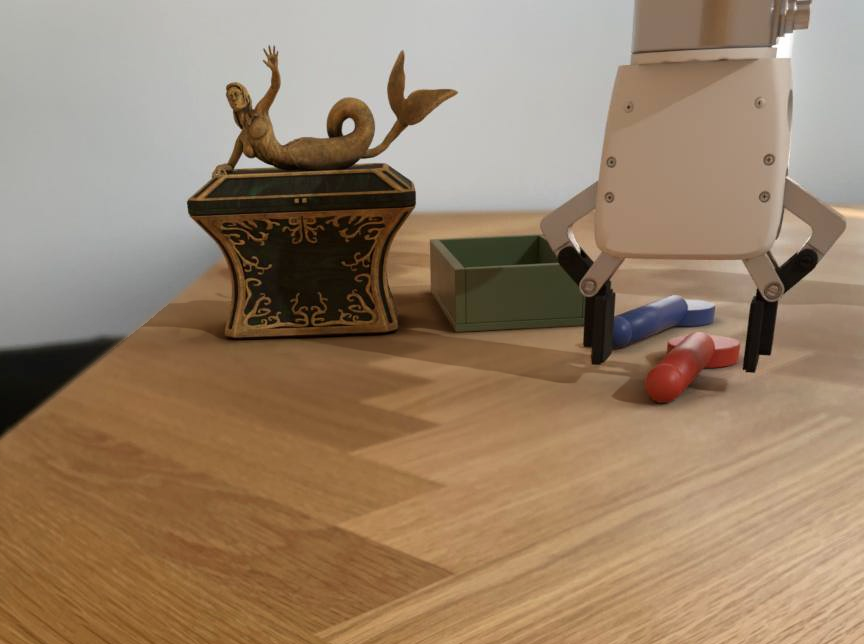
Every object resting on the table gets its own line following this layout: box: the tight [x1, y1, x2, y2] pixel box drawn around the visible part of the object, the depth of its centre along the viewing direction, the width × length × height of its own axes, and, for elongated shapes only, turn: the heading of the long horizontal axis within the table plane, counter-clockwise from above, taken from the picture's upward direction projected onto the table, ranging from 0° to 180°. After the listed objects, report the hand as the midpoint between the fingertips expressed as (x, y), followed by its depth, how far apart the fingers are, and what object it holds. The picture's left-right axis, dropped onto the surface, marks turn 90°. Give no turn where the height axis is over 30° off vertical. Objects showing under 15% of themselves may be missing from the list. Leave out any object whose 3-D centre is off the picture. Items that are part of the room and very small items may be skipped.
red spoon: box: [644, 331, 741, 404], centre depth 65 cm, size 14×5×2 cm, turn 154°
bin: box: [429, 233, 585, 333], centre depth 88 cm, size 11×19×5 cm, turn 4°
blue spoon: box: [612, 294, 716, 350], centre depth 77 cm, size 14×5×2 cm, turn 142°
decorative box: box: [186, 44, 459, 340], centre depth 79 cm, size 20×10×20 cm, turn 90°
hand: (674, 362), depth 63 cm, fingers open, 8 cm apart
